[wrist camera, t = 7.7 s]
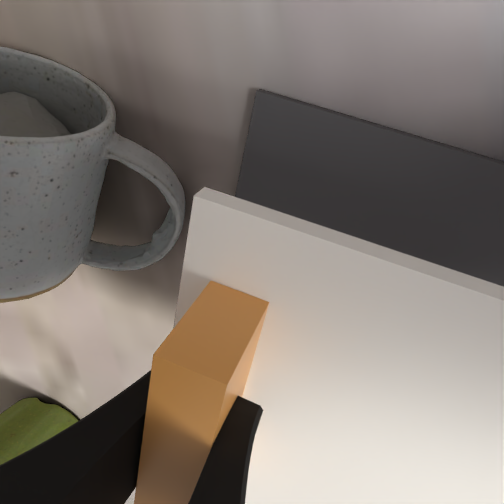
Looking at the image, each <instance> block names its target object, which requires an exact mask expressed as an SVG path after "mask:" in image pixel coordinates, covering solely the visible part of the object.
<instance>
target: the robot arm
mask: <svg viewBox="0 0 504 504" xmlns="http://www.w3.org/2000/svg"><path fill="white" fill-rule="evenodd" d="M150 377H151V370H150V371H149V372H148V373H147V374H145V375H144V376H143V377H141V378H140V379H139V380H137V381H136V382H135V383H133V384H132V385H131V386H129V387H128V388H127V389H125V390H124V391H122V392H121V393H120V394H118V395H117V396H115V397H114V398H112V399H111V400H110V401H108V402H107V403H105V404H104V405H102V406H101V407H99V408H98V409H96V410H95V411H93V412H92V413H90V414H89V415H87V416H86V417H84V418H83V419H81V420H79V421H78V422H76V423H74V424H73V425H71V426H69V427H68V428H66V429H65V430H63V431H61V432H60V433H58V434H56V435H55V436H53V437H51V438H50V439H48V440H46V441H44V442H43V443H41V444H39V445H37V446H35V447H34V448H32V449H30V450H28V451H26V452H24V453H22V454H21V455H19V456H17V457H15V458H13V459H11V460H9V461H7V462H5V463H3V464H1V465H0V504H124V503H125V502H126V500H127V499H128V497H129V496H130V495H131V493H132V492H133V490H134V489H135V487H136V485H137V477H138V469H139V462H140V454H141V446H142V439H143V431H144V423H145V415H146V408H147V400H148V392H149V384H150ZM262 413H263V409H262V407H261V406H260V405H258V404H256V403H254V402H251V401H249V400H247V399H245V398H242V397H240V396H237V398H236V400H235V402H234V404H233V406H232V408H231V410H230V411H229V413H228V415H227V417H226V419H225V421H224V423H223V425H222V427H221V429H220V431H219V433H218V435H217V437H216V439H215V441H214V443H213V445H212V448H211V450H210V453H209V455H208V457H207V460H206V462H205V465H204V467H203V470H202V472H201V474H200V477H199V479H198V482H197V484H196V487H195V489H194V491H193V494H192V496H191V499H190V501H189V503H188V504H245V498H246V489H247V480H248V471H249V465H250V458H251V453H252V447H253V442H254V438H255V434H256V431H257V428H258V425H259V422H260V419H261V416H262Z"/></svg>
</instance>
